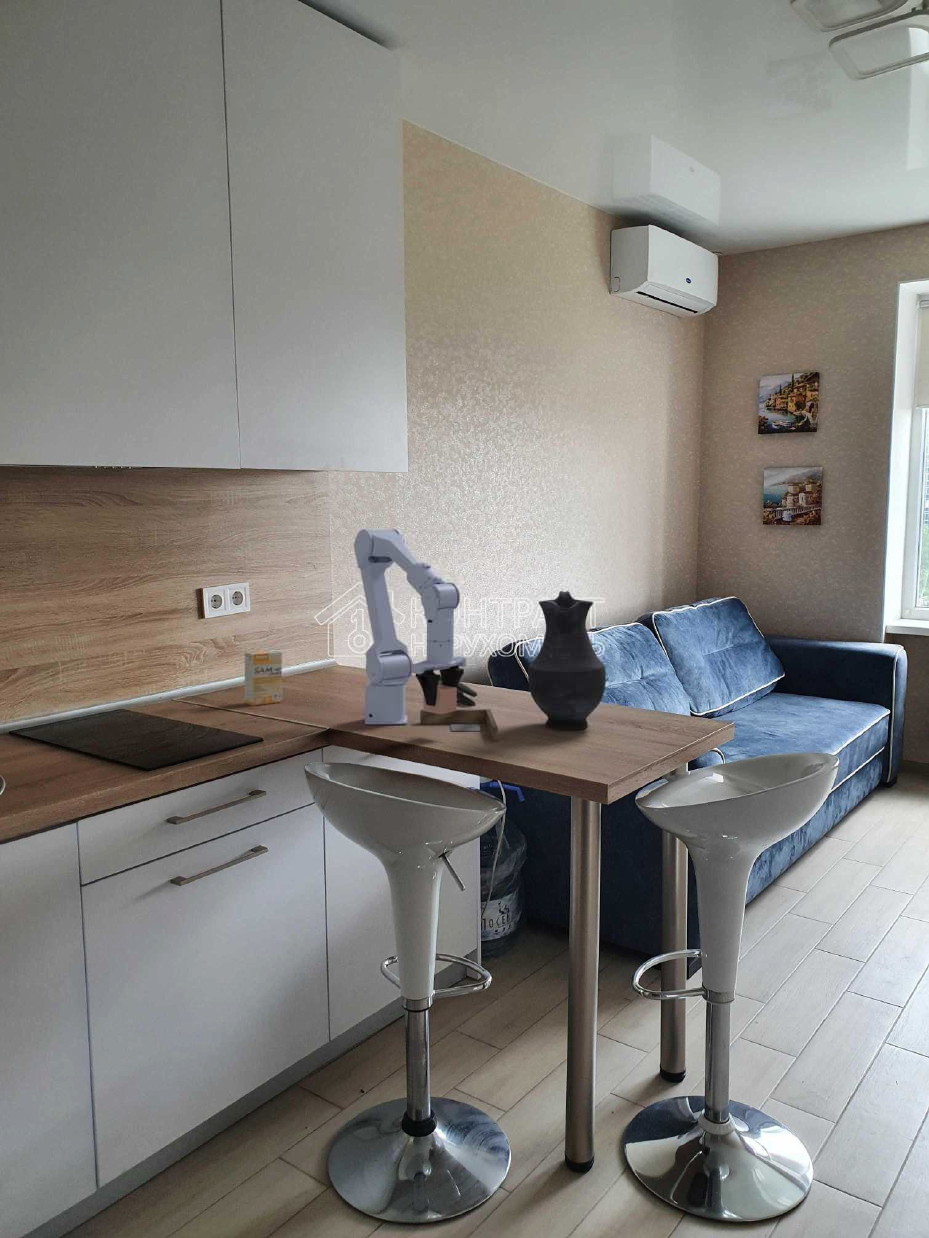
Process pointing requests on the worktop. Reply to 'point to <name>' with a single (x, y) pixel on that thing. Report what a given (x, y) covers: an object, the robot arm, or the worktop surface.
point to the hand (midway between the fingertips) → (439, 703)
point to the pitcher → (566, 666)
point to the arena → (464, 720)
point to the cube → (443, 700)
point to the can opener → (460, 694)
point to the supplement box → (263, 677)
